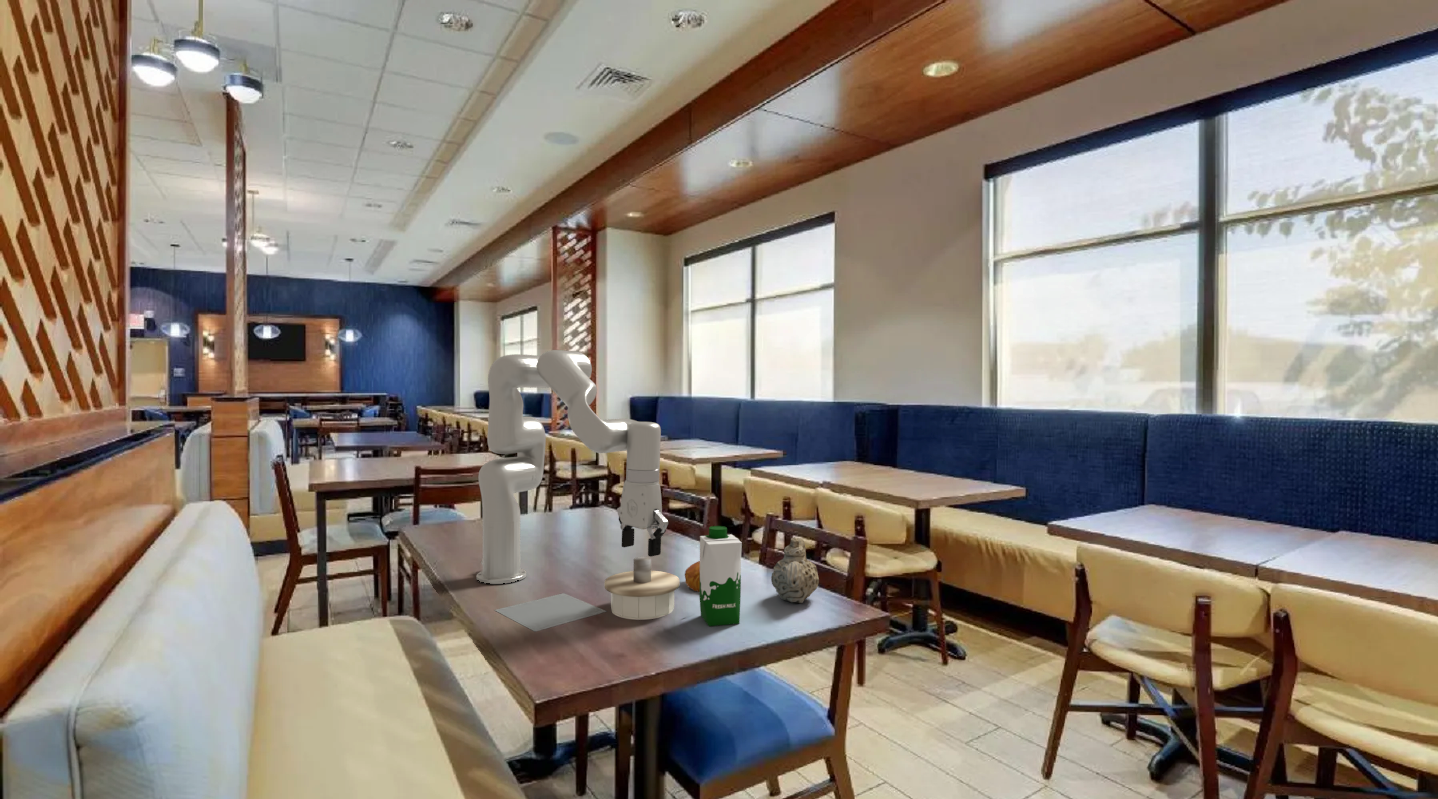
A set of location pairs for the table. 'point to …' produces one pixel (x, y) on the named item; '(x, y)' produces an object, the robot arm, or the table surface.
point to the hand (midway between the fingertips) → (640, 550)
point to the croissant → (693, 576)
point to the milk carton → (720, 577)
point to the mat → (549, 611)
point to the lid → (642, 581)
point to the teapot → (795, 573)
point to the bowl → (642, 606)
